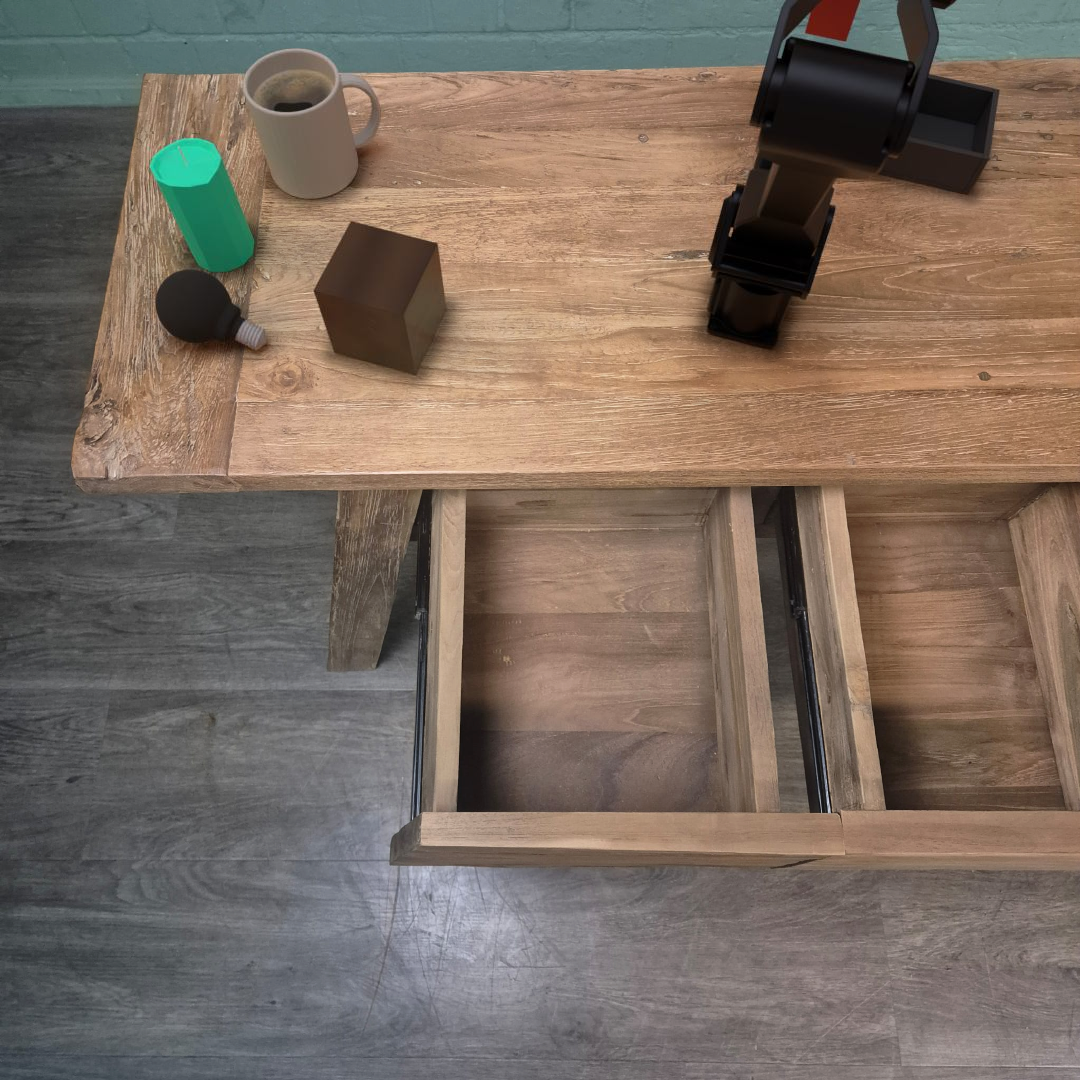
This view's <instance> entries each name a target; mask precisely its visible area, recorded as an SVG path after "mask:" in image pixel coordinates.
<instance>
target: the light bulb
mask: <svg viewBox="0 0 1080 1080" xmlns="http://www.w3.org/2000/svg"><path fill="white" fill-rule="evenodd" d="M230 295H231V294H230V293H229V291H228V290H227V288H226V287H225V285H224V284H223V283H222V282H221V281H220V280H219V279H218V278H217V277H215V276H214V275H212V274H210V273H208V272H206V271H203V270H199V269H193V268H189V269H182V270H178V271H175V272H173V273H171V274H170V275H168V276H167V277H166V278H165V279H163V281H162V282H161V284H160V285H159V287H158V289H157V292H156V295H155V299H154V300H155V301H154V303H155V311H156V315H157V318H158V320H159V322H160V324H161V325H162V327H163V328H164V329H165V330H166V331H167V332H168V333H169V334H170V335H171V336H173V337H175V338H176V339H177V340H180V341H183V342H184V343H189V344H199V345H200V344H206V343H209V342H210V343H211V342H212V341H218V342H219V343H222V344H225V343H228V341H230V340H232V341H235V342H238V343H241V344H242V345H244V346H246V347H247V346H248V348H251V349H252V350H255V351H258V350H259V349H261V348H262V347H264V346H265V345H266V344H267V332H266V328H264V327H263V328H262V326H259V324H256V323H254V322H253V323H252V321H249V319H246V318H244V317H243V316H241V314H242V309H241V308H240V307H239V306H238V305H236V304H234V302H233V301H232V298H231V296H230Z"/></svg>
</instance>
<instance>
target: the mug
mask: <svg viewBox="0 0 1080 1080" xmlns="http://www.w3.org/2000/svg"><path fill="white" fill-rule="evenodd" d="M347 88H354V89H358V90H359V91H360V90H361V91H362V92H364V93H365V95H367V96H368V97H369V100H370V105H371V110H370V116H369V119H368V122H367V123H366V125H365V126H364V128H362V129H361V130H360V131H359V132H357V133H355V134H353V130H352V125H351V120H350V117H349V112H348V108H347V103H346V102H347V101H346V99H345V98H346V97H345V94H344V89H347ZM242 90H243V96H244V98H245V100H246V104H247V107H248V110H249V112H250V117H251V118H252V122H253V125H254V127H255V130H256V133H257V136H258V140H259V142H260V144H261V145H260V146H261V148H262V151H263V154H264V158H265V160H266V163H267V166H268V169H269V172H270V175H271V178H272V181H273V182H274V183H275V184H276V186H277V187H278V188H279V189H280V190H281V191H283V192H284V193H286V194H288V195H290V196H293V197H296V198H299V199H305V200H314V199H321V198H327V197H330V196H333V195H335V194H337V193H339V192H341V191H342V190H344V189H345V188H346V187H348V186H349V185H350V184H351V183H352V181H353V180H354V178H355V177H356V175H357V172H358V169H359V158H358V153H357V149H359V148H361V147H363V146H365V145H367V144H368V143H369V142H371V140H373V138H374V137H375V135H376V134H377V132H378V130H379V127H380V124H381V120H382V118H381V117H382V111H381V105H380V101H379V98H378V96H377V95H376V93H375V91H374V89H373V88H372V85H371V84H370V83H369V81H367V80H366V79H365V78H363V77H362V76H360V75H359V74H356V73H351V72H343V73H340V71H339V69H338V67H337V66H336V64H335V63H334V62H333V61H332V60H331V58H329V57H327V56H326V55H324V54H323V53H321V52H318V51H315V50H312V49H308V48H286V49H280V50H276V51H273V52H270V53H268V54H265V55H264V56H262V57H260V58H259V59H257V60H255V62H254V63H252V65H250V67H249V68H248V69H247V71H246V73H245V75H244V77H243V81H242Z"/></svg>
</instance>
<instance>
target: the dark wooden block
mask: <svg viewBox="0 0 1080 1080" xmlns="http://www.w3.org/2000/svg"><path fill="white" fill-rule="evenodd" d="M443 279H444V278H443V272H442V263H441V258H440V251H439V243H438V242H434V241H430V240H427V239H423V238H418V237H416V236H411V235H408V234H403V233H399V232H396V231H392V230H388V229H384V228H380V227H377V226H372V225H370V224H369V225H368V224H364V223H361V222H357V221H353V220H350V222H349V224H348V226H347V228H346V229H345V231H344V233H343V235H342V236H341V239H340V240H339V242H338V244H337V246H336V248H335V250H334V251H333V253H332V254H331V257H330V259H329V261H328V263H327V265H326V267H325V268H324V270H323V272H322V274H321V275H320V277H319V280H318V281H317V282H316V285H315V287H314V289H313V293H314V296H315V300H316V303H317V305H318V308H319V311H320V315H321V317H322V321H323V323H324V326H325V329H326V332H327V335H328V339H329V342H330V345H331V347H332V350H333V353H334V354H338V355H342V356H345V357H349V358H352V359H355V360H360V361H362V362H365V363H369V364H373V365H377V366H381V367H384V368H387V369H391V370H395V371H397V372H398V371H399V372H403V373H406V374H408V375H413V376H416V375H417V374H418V371H419V369H420V367H421V364H422V363H423V360H424V358H425V356H426V353H427V351H428V349H429V347H430V345H431V343H432V341H433V338H434V336H435V334H436V332H437V330H438V328H439V325H440V323H441V321H442V319H443V316H444V315H445V312H446V311H447V303H446V294H445V287H444V280H443Z"/></svg>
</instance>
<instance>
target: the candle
mask: <svg viewBox="0 0 1080 1080" xmlns="http://www.w3.org/2000/svg"><path fill="white" fill-rule="evenodd" d="M149 169H150V171H151V173H152V175H153V177H154V179H155V182H156V183H157V186H158V187H159V190H160V192H161V194H162V195H163V198H164V200H165V201H166V204H167V206H168V208H169V210H170V212H171V214H172V216H173V218H174V220H175V222H176V224H177V226H178V228H179V230H180V233H181V234H182V236H183V238H184V240H185V242H186V244H187V246H188V248H189V251H190V252H191V255H192V256H193V259H194V260H195V261H196V263H197V265H198V266H199V267H200V268H203V269H204V270H207V271H209V272H211V273H229V272H232V271H233V270H236V269H239V268H240V267H243V266H244V265H245V264H246V263H247V262H249V259H251V258H252V256H253V255H254V251H255V242H256V241H255V239H254V237H253V234H252V231H251V228H250V226H249V224H248V221H247V218H246V217H245V216H246V215H245V213H244V211H243V209H242V206H241V204H240V201H239V198H238V196H237V194H236V191H235V189H234V188H235V187H234V186H233V184H232V181H231V178H230V176H229V173H228V171H227V168H226V165H225V162H224V161H223V158H222V156H221V155H220V152H219V151H218V149H217V147H216V145H215V144H214V143H213V142H210V141H208V140H205V139H204V138H200V137H196V138H195V137H193V138H192V137H190V138H189V137H187V138H186V137H185V138H181V139H180V138H179V139H178V140H175V141H174V142H172V143H169V144H167V145H165V146H164V147H162V148H161V149H160V150H159V151H158V152H157V153H155V154H154V155H153V157H152V158H151V162H150V164H149Z"/></svg>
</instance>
